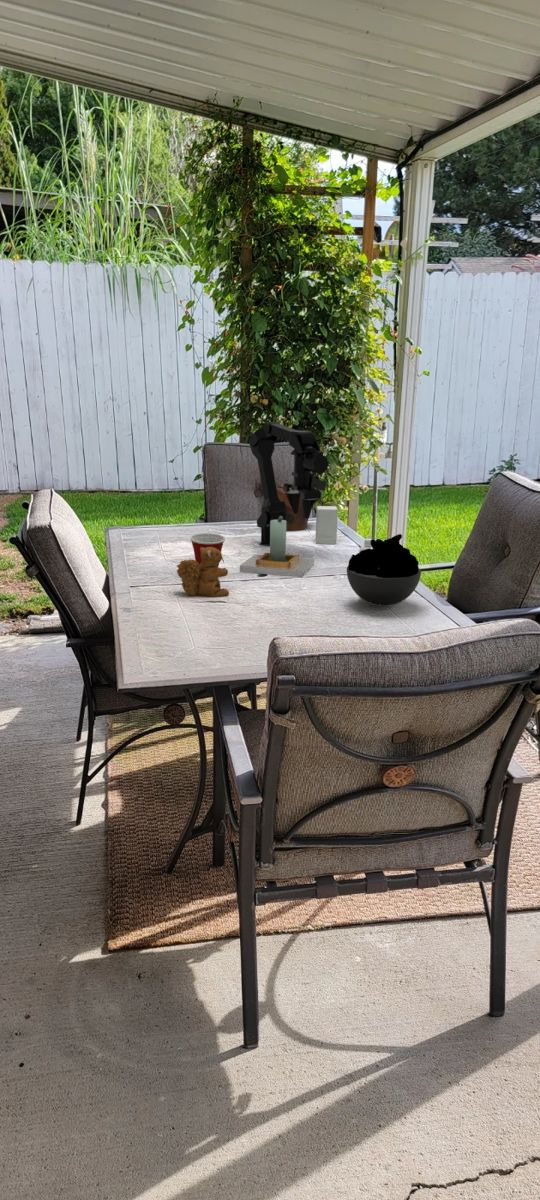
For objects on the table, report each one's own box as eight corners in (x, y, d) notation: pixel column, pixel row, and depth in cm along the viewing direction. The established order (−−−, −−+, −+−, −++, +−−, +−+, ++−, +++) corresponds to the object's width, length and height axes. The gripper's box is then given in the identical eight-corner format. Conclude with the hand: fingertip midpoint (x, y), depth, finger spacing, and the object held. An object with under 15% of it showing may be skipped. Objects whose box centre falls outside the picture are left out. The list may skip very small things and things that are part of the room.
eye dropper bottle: (369, 570, 275) (370, 532, 272) (377, 574, 270) (379, 536, 267) (356, 571, 273) (358, 533, 270) (365, 575, 268) (366, 537, 265)
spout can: (267, 560, 276) (268, 514, 272) (281, 559, 278) (282, 513, 274) (273, 564, 272) (274, 516, 267) (288, 562, 273) (289, 516, 269)
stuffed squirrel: (231, 596, 244) (232, 550, 240) (182, 600, 239) (182, 553, 236) (222, 587, 253) (222, 542, 249) (174, 590, 249) (174, 545, 245)
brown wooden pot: (262, 531, 331) (263, 484, 326) (270, 521, 350) (272, 477, 345) (308, 534, 328) (311, 487, 323) (314, 524, 347) (317, 479, 342)
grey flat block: (239, 571, 270) (239, 560, 269) (254, 560, 285) (254, 550, 284) (301, 577, 265) (302, 565, 264) (313, 565, 280) (314, 554, 279)
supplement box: (336, 544, 311) (338, 509, 307) (315, 544, 311) (317, 509, 307) (335, 540, 318) (336, 505, 314) (315, 539, 318) (316, 505, 314)
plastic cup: (195, 580, 259) (194, 541, 256) (186, 572, 269) (185, 534, 266) (229, 577, 263) (230, 539, 260) (219, 569, 273) (219, 532, 269)
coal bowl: (368, 618, 225) (371, 547, 220) (332, 598, 242) (334, 532, 237) (433, 610, 233) (438, 542, 227) (394, 592, 250) (397, 527, 245)
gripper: (336, 472, 282) (335, 519, 286) (312, 465, 298) (311, 510, 303) (305, 473, 278) (304, 521, 282) (283, 466, 294) (282, 512, 299)
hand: (301, 516), depth 291 cm, fingers open, 9 cm apart
